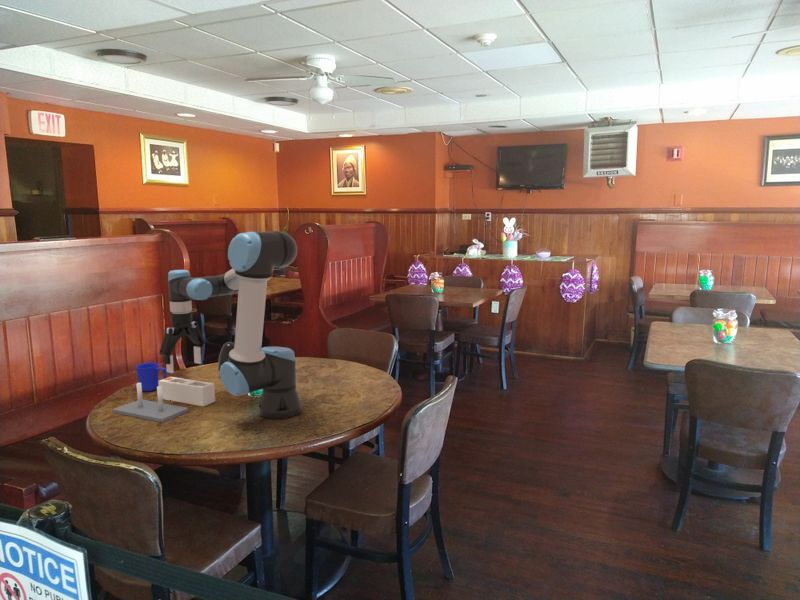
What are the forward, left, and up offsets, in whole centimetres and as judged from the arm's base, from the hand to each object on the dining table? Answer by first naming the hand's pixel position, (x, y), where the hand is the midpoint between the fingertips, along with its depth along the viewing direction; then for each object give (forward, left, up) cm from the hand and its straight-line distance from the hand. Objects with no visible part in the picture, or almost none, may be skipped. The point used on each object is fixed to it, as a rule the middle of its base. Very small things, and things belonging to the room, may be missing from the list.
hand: (184, 367), depth 214 cm
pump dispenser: (+6, -31, -13) cm, 34 cm away
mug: (+22, -4, -13) cm, 25 cm away
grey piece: (+2, +15, -13) cm, 20 cm away
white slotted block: (0, 0, -13) cm, 13 cm away
